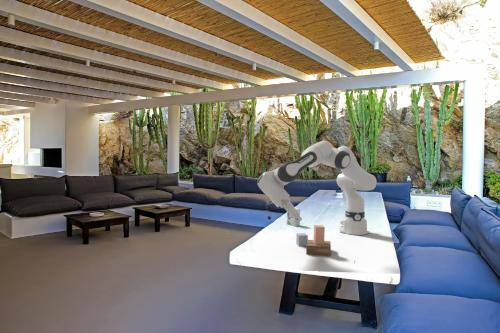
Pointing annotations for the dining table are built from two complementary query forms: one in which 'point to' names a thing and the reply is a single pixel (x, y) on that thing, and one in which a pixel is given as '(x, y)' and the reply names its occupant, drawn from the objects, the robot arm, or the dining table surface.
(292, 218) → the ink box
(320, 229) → the terracotta block
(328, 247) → the walnut block
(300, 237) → the slate grey block
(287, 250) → the dining table surface
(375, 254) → the dining table surface
